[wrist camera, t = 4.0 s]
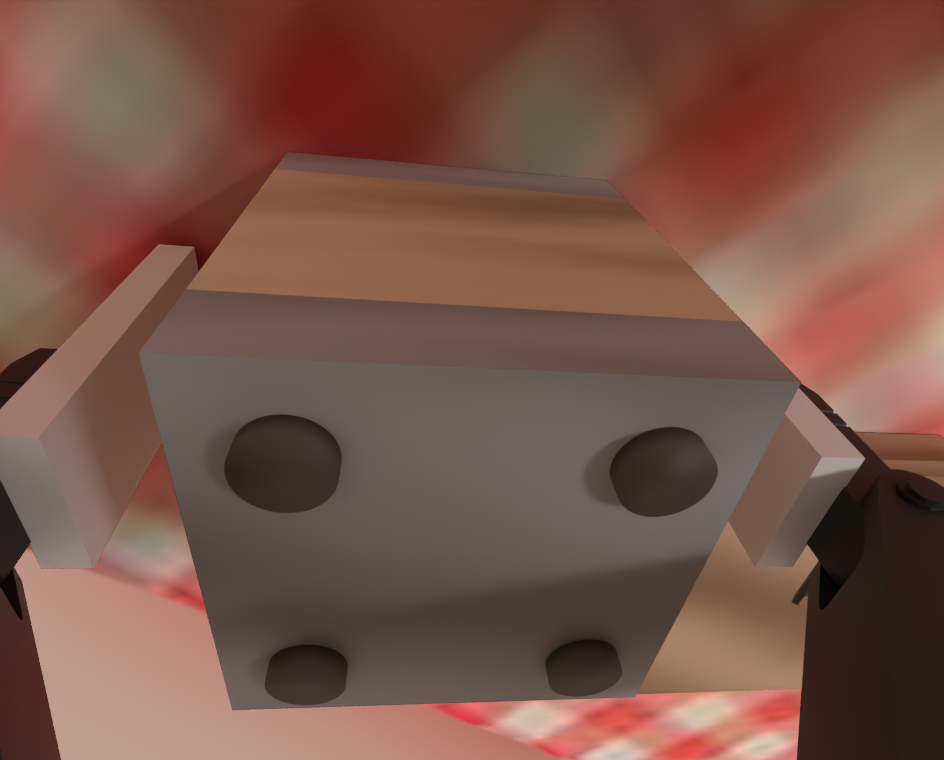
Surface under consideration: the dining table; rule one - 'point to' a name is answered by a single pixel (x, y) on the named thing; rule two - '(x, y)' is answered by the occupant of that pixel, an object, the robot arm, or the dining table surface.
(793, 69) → the dining table surface
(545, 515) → the housing
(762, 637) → the stand
